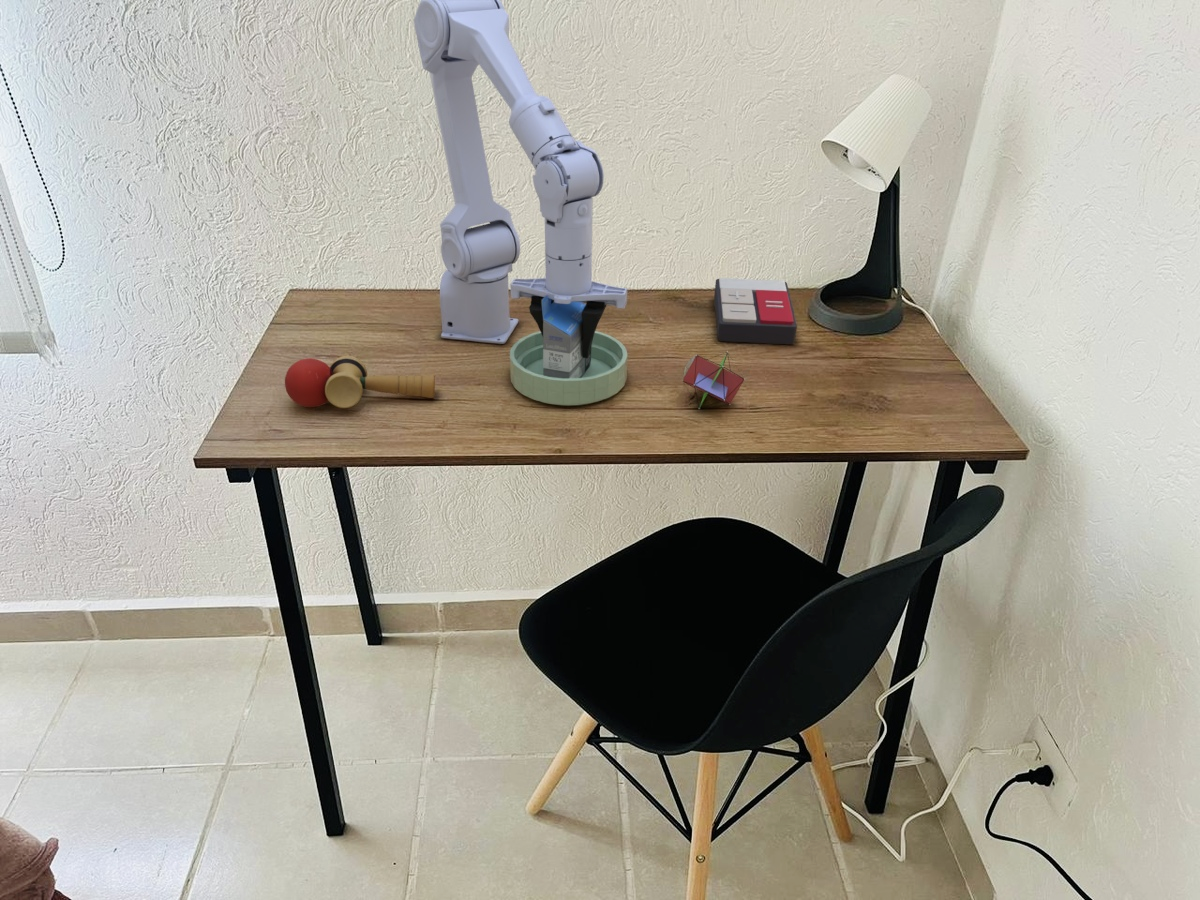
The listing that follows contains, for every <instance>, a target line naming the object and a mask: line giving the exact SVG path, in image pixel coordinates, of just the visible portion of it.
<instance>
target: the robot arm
mask: <svg viewBox="0 0 1200 900" xmlns="http://www.w3.org/2000/svg"><path fill="white" fill-rule="evenodd" d="M413 24H414V31H415V35H416V40H417V41H416V42H417V46H418V50H419V55H420V59H421V65H422V68H423V70H425V71H426V72H429V78H430V82H431V87H432V93H433V98H434V104H435V108H436V109H435V110H436V114H437V118H438V125H439V129H440V134H441V139H442V144H443V145H442V146H443V150H444V156H445V160H446V165H447V170H448V176H449V180H450V186H451V191H452V197H453V201H454V205H453V207H452V208H451V210H450V211H449V212H448V214H447V215H446V216H445V217H444V218H443V219H442V221H441V222H440V224H439V227H440V234H441V245H440V253H441V257H442V259H441V260H442V261H443V264H444V266H445V268H446V270H444V272H443V274H442V276H441V279H440V283H439V305H440V318H441V329H442V332H441V333H440V337H441V338H442V339H446V340H447V339H449V340H458V341H466V342H467V341H469V342H479V343H488V344H497V345H504V344H506V342H507V341H508V339H509V338H510V337H511V334H512V333H513V331H514V330H515V328H516V327H517V325H518V323H519V319H518V318H513V317H511V315H510V314H511V313H510V299H513V300H519V299H521V298H525V299H526V298H527V299H530V305H529V307H528V308H529V309H528V310H529V313H530V315H531V317H532V318H533V320H534V322H535V323H536V324H537V327H538V329H539V331H541V334H542V336H543V313H542V303H541V300H542V299H543V298H544V297H545V296H546V295H547V298H549V299H552V300H551V304H552V303H553V302H555V303H560V304H570V303H571V302H580V303H583V304H585V307H584V309H583V311H582V323H583V347H582V357H583V358H588V357H589V355H590V352H591V346H592V341H593V337H594V333H595V331H597V328H598V325H599V322H600V320H601V318H602V316H603V314H604V312H605V310H606V308H607V306H614V307H615V308H616V309H623V310H624V309H625V308H626V306H627V303H628V288H626V287H618V286H613V285H610V284H606V283H601V282H596V281H593V280H592V279H593V274H592V273H593V215H594V214H593V213H594V211H593V210H594V209H593V206H594V202H593V201H594V197H596V196H598V195H599V194H600V192H601V191H602V189H603V187H604V178H605V175H604V169H603V165H602V162H601V160H600V158H599V156H598V153H597V152H596V151H595V150H594V149H593V148H592V147H589V146H585V144H583V142H582V141H581V140H577V139H575V137H574V136H573V135H572V133H571V131H570V130H569V128H568V126H567V125H566V123H565V122H564V120H563V118H562V116H561V115H560V113H559V111H558V109H557V108H556V106H555V105H554V102H553V101H552V99H551V98H549V97H548V96H545V95H539V94H537V93H536V91H535V88H534V87H533V84H532V83H531V81H530V79H529V77H528V74H527V73H526V70H525V68H524V66H523V64H522V62H521V60H520V59H519V56H518V54H517V52H516V49H515V48H514V47H513V44H512V42H511V40H510V38H509V37H510V17H509V14H508V12H507V11H506V10H505V6H504V5H503V3H502V1H501V0H420V1H419V3H418V7H417V9H416V13H415V16H414V18H413ZM478 66H480V68H481V70H482V71H483V72H484V74H485V75H486V76H487V78H488V79H489V81H490V82H491V84H492V85H493V86H494V88H496V91H497V92H498V94H500V96H501V97H502V99H503V100H504V101H505V103H506V104H507V106H508V107H509V109H510V115H509V119H508V125H509V127H510V129H511V131H512V133H513V134H514V136H515V138H516V139H517V141H518V143H519V144H520V146H521V148H522V150H523V151H524V153H525V154H526V157H527V158H528V160H529V161H530V163H531V165H532V166H533V168H534V170H535V172H534V173H535V174H533V175H532V181H533V186H534V189H535V192H536V195H537V197H538V200H539V201H538V202H539V212H541V216H542V218H544V255H545V256H544V261H545V277H543V278H514V279H513V280H512V282H511V283H510V284H509V273H511V272H513V264H515V263H516V262H517V261H518V260H519V258H520V254H521V240H520V237H519V234H518V232H517V230H516V228H515V225H514V223H513V219H512V215H511V214H512V213H511V211H510V210H509V209H507V208H506V207H504V206H502V205H501V204H499V203H498V202H496V201H495V200H494V196H493V191H492V186H491V185H492V184H491V181H490V175H489V169H488V168H489V167H488V163H487V157H486V152H485V146H484V140H483V135H482V129H481V122H480V118H479V113H478V107H477V101H476V96H475V89H474V84H473V75H474V74H475V71H476V69H477V67H478ZM509 285H510V286H509ZM509 287H510V288H509Z"/></svg>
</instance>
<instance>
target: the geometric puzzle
mask: <svg viewBox="0 0 1200 900" xmlns="http://www.w3.org/2000/svg"><path fill="white" fill-rule="evenodd" d="M713 354H715V353H712V355H713ZM724 354H725V355H724ZM703 355H704V356H705V355H706V354H702V356H703ZM722 355H724V357H723V359H722V361H721V362H720V364H719V363H717V362H714V361H713V360H711V359H713V358H715V357H718V356H722ZM702 356H701V355H699V354H695V355H694V356H693V357H691V358H690V359H689V360H688V361H687V363H686V364H685V366H684V370H683V376H682V380H681V382H682V383H683V384H684V386H686V385H688V386H690V387H691V388H693V389H694V391H695V396H696V401H697V404H696V406H697V407H698V410H701V409H703V408H704V409H706V408H707V409H708V407H709V406H711V405H714V404H718V403H720V402H722V403H724V404H725V405H728V406H731V404H732V402H733V400H734V398H735V397H736V396H737V394H738V392H739V390H740V388H741V386H742V385H743V383H744V381H745V380H746V378H745V377H744V376H742V375H741V376H740V375H739V374H737V373H735V372H734V371H732V370H731V368H729V369H728V368H727V367H725V363H726V359H727V360H728V361H730V358H731V360H733V358H732V357H731V355H730V354H729V351H728V350H727V351H725V352H721V353H720V354H718V355H716V356H712V357H710V358H705V357H702ZM729 356H730V358H729ZM728 365H729V367H731V364H730V362H728ZM735 366H736V368H737V370H738V371H740V370H739V368H738V366H737V365H735ZM685 384H686V385H685ZM686 389H687V391H688V393H689V394H691V393H690V391H689V389H688V388H686ZM697 391H699V392H701V393H702V398H701V401H700V403H699V398H698V394H697ZM707 396H709V397H711V398H713V399H715V400H718V401H717V402H713V403H710V404H708V405H705V406H702V405H703V402H704V401H705V399H706V397H707ZM691 398H692V399H694V398H693V396H691ZM724 404H722V405H721V404H720V407H721V406H722V407H723V406H724ZM712 407H713V408H714V407H715V408H716V405H715V406H712Z"/></svg>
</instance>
